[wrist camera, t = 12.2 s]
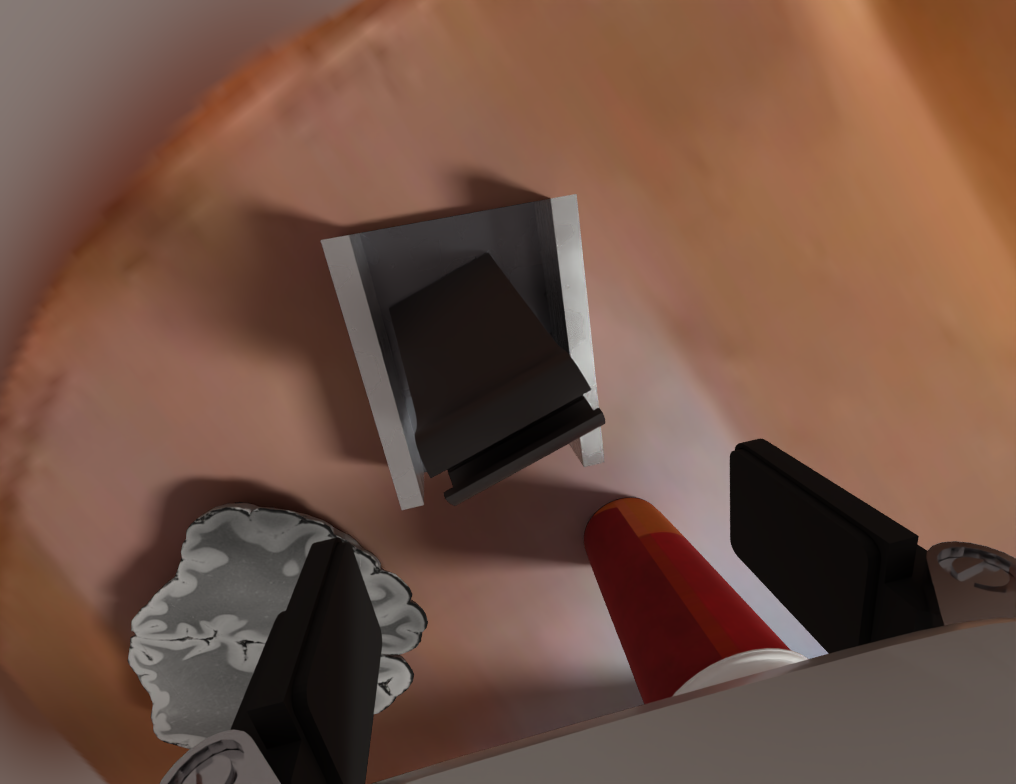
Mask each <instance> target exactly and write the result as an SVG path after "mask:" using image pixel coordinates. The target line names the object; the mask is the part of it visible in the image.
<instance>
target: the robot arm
mask: <svg viewBox="0 0 1016 784" xmlns="http://www.w3.org/2000/svg"><path fill="white" fill-rule="evenodd" d="M730 540H731V545H732V548H733V550H734V552H735V554H736V555H737V556H738V557H739V558H740V559H741V560H742V561H743V563H744V564H745V565H746V566H747V567H748V568H749V569H750V570H751V571H752V572H753V573H754V574H755V575H756V576H757V577H758V579H759V580H760V581H761V582H762V583H763V584H764V585H765V586H766V587H767V588H768V589H769V590H770V591H771V592H772V593H773V595H774V596H775V597H776V598H777V599H778V600H779V601H780V602H781V603H782V604H783V605H784V606H785V607H786V608H787V609H788V611H789V612H790V613H791V614H792V615H793V616H794V617H795V618H796V619H797V620H798V621H799V622H800V623H801V624H802V625H803V627H804V628H805V629H806V630H807V631H808V632H809V633H810V634H811V635H812V636H813V637H814V638H815V639H816V640H817V641H818V643H819V644H820V645H821V646H822V647H823V648H824V649H825V650H826V651H827V652H828V653H829V654H826V655H823V656H819V657H815V658H811V659H808V660H804V661H800V662H797V663H793V664H789V665H786V666H782V667H778V668H775V669H771V670H767V671H764V672H760V673H756V674H753V675H749V676H745V677H742V678H738V679H734V680H731V681H727V682H723V683H720V684H716V685H713V686H709V687H705V688H702V689H698V690H695V691H691V692H687V693H684V694H680V695H677V696H673V697H669V698H666V699H662V700H658V701H655V702H651V703H648V704H644V705H641V706H637V707H633V708H630V709H626V710H623V711H619V712H616V713H612V714H608V715H605V716H601V717H598V718H594V719H591V720H587V721H583V722H580V723H576V724H573V725H569V726H566V727H562V728H559V729H555V730H552V731H548V732H545V733H541V734H538V735H534V736H531V737H527V738H524V739H520V740H517V741H513V742H510V743H506V744H503V745H499V746H496V747H492V748H489V749H485V750H482V751H478V752H475V753H471V754H468V755H464V756H461V757H457V758H454V759H451V760H447V761H444V762H441V763H438V764H434V765H431V766H428V767H425V768H421V769H418V770H415V771H411V772H408V773H405V774H402V775H398V776H395V777H392V778H388V779H385V780H382V781H379V782H375V783H372V784H1016V558H1014V557H1012V556H1010V555H1008V554H1006V553H1004V552H1001V551H998V550H995V549H993V548H990V547H987V546H982V545H978V544H973V543H967V542H956V541H954V542H942V543H939V544H936V545H933V546H932V547H931V548H930V549H929V550H928V551H927V550H925V549H923V548H922V547H920V546H919V545H917V543H918V535H916V534H914V533H913V532H911V531H910V530H908V529H907V528H905V527H903V526H902V525H900V524H899V523H897V522H895V521H894V520H892V519H891V518H889V517H887V516H886V515H884V514H883V513H881V512H879V511H878V510H876V509H875V508H873V507H871V506H870V505H868V504H867V503H865V502H863V501H862V500H860V499H859V498H857V497H855V496H854V495H852V494H851V493H849V492H847V491H846V490H844V489H843V488H841V487H840V486H838V485H836V484H835V483H833V482H832V481H830V480H828V479H827V478H825V477H824V476H822V475H820V474H819V473H817V472H816V471H814V470H812V469H811V468H809V467H808V466H806V465H804V464H803V463H801V462H800V461H798V460H796V459H795V458H793V457H792V456H790V455H788V454H787V453H785V452H784V451H782V450H780V449H779V448H777V447H776V446H774V445H772V444H771V443H769V442H768V441H766V440H764V439H756V440H752V441H747V442H743V443H739V444H737V445H736V447H735V451H732V452H731V454H730ZM381 652H382V633H381V629H380V625H379V623H378V620H377V617H376V614H375V611H374V608H373V605H372V602H371V600H370V597H369V594H368V591H367V588H366V585H365V582H364V580H363V577H362V574H361V571H360V568H359V565H358V562H357V560H356V557H355V554H354V551H353V548H352V546H351V544H350V542H348V541H347V542H342V540H341V539H340V538H339V537H337V538H332V539H328V540H324V541H319V542H315V543H313V544H312V545H311V547H310V550H309V553H308V555H307V558H306V560H305V563H304V565H303V568H302V570H301V573H300V576H299V578H298V581H297V583H296V586H295V588H294V591H293V593H292V596H291V599H290V601H289V604H288V606H287V609H286V611H282V612H281V613H280V614H278V616H277V618H276V619H275V621H274V624H273V626H272V629H271V631H270V634H269V636H268V638H267V641H266V643H265V646H264V648H263V651H262V653H261V656H260V658H259V660H258V663H257V665H256V668H255V670H254V673H253V675H252V678H251V680H250V682H249V685H248V687H247V690H246V692H245V695H244V697H243V700H242V702H241V704H240V707H239V709H238V712H237V714H236V717H235V719H234V722H233V724H232V726H231V729H230V730H229V731H223V732H219V733H217V734H215V735H213V736H210V737H208V738H206V739H204V740H203V741H201V742H200V743H198V744H197V745H195V746H194V747H193V748H191V749H190V750H189V751H187V752H186V753H185V754H184V755H183V756H182V757H181V758H180V759H179V760H178V761H177V762H176V763H175V764H174V765H173V766H172V767H171V769H170V770H169V771H168V772H167V774H166V775H165V776H164V777H163V779H162V780H161V782H160V784H365V780H366V772H367V764H368V756H369V748H370V740H371V732H372V724H373V716H374V708H375V700H376V692H377V684H378V676H379V668H380V660H381Z"/></svg>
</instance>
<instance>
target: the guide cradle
mask: <svg viewBox="0 0 1016 784" xmlns="http://www.w3.org/2000/svg"><path fill="white" fill-rule="evenodd" d="M321 243H322V247H323V250H324V253H325V257H326V260H327V263H328V267H329V270H330V273H331V277H332V280H333V283H334V287H335V290H336V293H337V297H338V300H339V303H340V307H341V310H342V313H343V317H344V320H345V323H346V327H347V330H348V333H349V337H350V340H351V343H352V347H353V350H354V353H355V356H356V360H357V363H358V366H359V370H360V373H361V376H362V380H363V383H364V386H365V390H366V393H367V396H368V400H369V403H370V406H371V410H372V413H373V416H374V420H375V423H376V426H377V430H378V433H379V436H380V440H381V443H382V446H383V450H384V453H385V456H386V460H387V463H388V466H389V470H390V473H391V476H392V479H393V483H394V486H395V489H396V493H397V496H398V499H399V503H400V506H401V509H402V510H405V509H409V508H413V507H417V506H422V505H424V472H427V471H426V469H425V467H424V465H423V462H422V460H421V458H420V455H419V452H418V449H417V446H416V442H415V432H416V429H417V419H416V413H415V409H414V405H413V402H412V398H411V394H410V390H409V386H408V382H407V378H406V374H405V370H404V366H403V362H402V358H401V355H400V351H399V347H398V343H397V339H396V335H395V331H394V327H393V323H392V319H391V315H390V312H389V308H390V307H392V306H393V305H395V304H397V303H399V302H401V301H402V300H404V299H406V298H408V297H409V296H411V295H413V294H415V293H417V292H418V291H420V290H422V289H424V288H425V287H427V286H429V285H431V284H433V283H434V282H436V281H438V280H440V279H441V278H443V277H445V276H447V275H449V274H450V273H452V272H454V271H456V270H458V269H459V268H461V267H463V266H465V265H466V264H468V263H470V262H472V261H474V260H475V259H477V258H479V257H481V256H482V255H484V254H486V253H489V254H490V255H491V257H492V258H493V260H494V261H495V262H496V264H497V265H498V266H499V268H500V269H501V270H502V272H503V273H504V274H505V276H506V277H507V278H508V280H509V281H510V282H511V284H512V285H513V286H514V288H515V289H516V290H517V292H518V293H519V294H520V296H521V297H522V298H523V300H524V301H525V302H526V304H527V305H528V306H529V308H530V309H531V310H532V312H533V313H534V314H535V316H536V317H537V319H538V320H539V321H540V323H541V324H542V325H543V327H544V328H545V329H546V331H547V332H548V333H549V335H550V336H551V337H552V339H553V340H554V341H555V342H556V343H557V344H558V346H560V347H561V348H562V349H564V350H565V351H566V352H567V353H568V354H569V355H570V356H571V358H572V359H573V360H574V362H575V363H576V365H577V366H578V368H579V369H580V371H581V372H582V374H583V376H584V377H585V379H586V381H587V382H588V384H589V386H590V388H591V390H590V391H589V392H587V393H585V394H583V396H584V397H585V398H586V400H587V401H588V403H589V404H590V406H591V407H592V409H593V410H595V409H597V408H598V407H599V406H598V396H597V387H596V377H595V368H594V358H593V348H592V339H591V329H590V320H589V310H588V300H587V291H586V281H585V272H584V262H583V252H582V243H581V233H580V224H579V214H578V204H577V195H576V194H574V195H569V196H563V197H557V198H552V199H546V200H541V201H535V202H530V203H524V204H519V205H513V206H507V207H502V208H496V209H491V210H485V211H480V212H474V213H469V214H463V215H457V216H452V217H446V218H441V219H435V220H430V221H424V222H419V223H413V224H407V225H402V226H396V227H391V228H385V229H380V230H374V231H369V232H363V233H357V234H352V235H346V236H341V237H335V238H330V239H324V240H321ZM569 445H570V446H571V448H572V449H573V451H574V453H575V454H576V456H577V457H578V459H579V460H580V462H581V463H582V465H583V467H586V466H590V465H595V464H599V463H603V462H604V454H603V444H602V435H601V426H600V427H598V428H596V429H594V430H593V431H591V432H589V433H587V434H585V435H584V436H582V437H580V438H578V439H576V440H574V441H573V442H571V443H569Z"/></svg>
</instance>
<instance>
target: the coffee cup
mask: <svg viewBox="0 0 1016 784" xmlns="http://www.w3.org/2000/svg"><path fill="white" fill-rule="evenodd" d="M584 545H585V549H586V552H587V555H588V558H589V561H590V564H591V567H592V570H593V572H594V575H595V577H596V580H597V583H598V585H599V588H600V591H601V593H602V596H603V598H604V601H605V603H606V606H607V609H608V611H609V614H610V616H611V619H612V622H613V624H614V627H615V629H616V632H617V634H618V637H619V639H620V642H621V645H622V647H623V650H624V652H625V655H626V657H627V660H628V662H629V665H630V668H631V670H632V673H633V676H634V679H635V681H636V684H637V687H638V689H639V692H640V694H641V697H642V699H643V702H644V704H648V703H651V702H655V701H658V700H662V699H666V698H669V697H673V696H677V695H680V694H684V693H687V692H691V691H695V690H698V689H702V688H705V687H709V686H713V685H716V684H720V683H723V682H727V681H731V680H734V679H738V678H742V677H745V676H749V675H753V674H756V673H760V672H764V671H767V670H771V669H775V668H778V667H782V666H786V665H789V664H793V663H797V662H800V661H804V660H808V658H806V657H805V656H803V655H801V654H799V653H796V652H794V651H791V650H790V649H789V648H788V647H787V646H786V645H785V644H784V643H783V641H782V640H781V639H780V638H779V637H778V636H777V635H776V634H775V633H774V632H773V631H772V630H771V629H770V628H769V627H768V626H767V624H766V623H765V622H764V621H763V620H762V619H761V618H760V617H759V616H758V615H757V614H756V613H755V612H754V611H753V610H752V608H751V607H750V606H749V605H748V604H747V603H746V602H745V601H744V600H743V599H742V598H741V597H740V596H739V595H738V594H737V592H736V591H735V590H734V589H733V588H732V587H731V586H730V585H729V584H728V583H727V582H726V581H725V580H724V579H723V578H722V576H721V575H720V574H719V573H718V572H717V571H716V570H715V569H714V568H713V567H712V566H711V565H710V564H709V563H708V562H707V560H706V559H705V558H704V557H703V556H702V555H701V554H700V553H699V552H698V551H697V550H696V549H695V548H694V547H693V546H692V545H691V544H690V542H689V541H688V540H687V539H686V538H685V537H684V536H683V535H682V534H681V533H680V532H679V531H678V530H677V529H676V528H675V527H674V526H673V525H672V524H671V523H670V522H669V521H668V520H667V519H666V518H665V516H664V515H663V514H662V513H661V512H659V511H658V510H657V509H656V508H655V507H654V506H653V505H652V504H650V503H649V502H647V501H645V500H642V499H638V498H622V499H618V500H615V501H612V502H610V503H608V504H606V505H605V506H603V507H602V508H600V509H599V510H598V511H597V512H596V513H595V514H594V515H593V516H592V518H591V519H590V521H589V522H588V524H587V526H586V529H585V533H584Z"/></svg>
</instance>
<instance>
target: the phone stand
mask: <svg viewBox="0 0 1016 784" xmlns="http://www.w3.org/2000/svg"><path fill="white" fill-rule="evenodd" d="M389 312H390V315H391V319H392V323H393V327H394V331H395V335H396V339H397V343H398V347H399V351H400V355H401V358H402V362H403V366H404V370H405V374H406V378H407V382H408V386H409V390H410V394H411V398H412V402H413V405H414V409H415V413H416V419H417V429H416V432H415V442H416V446H417V449H418V452H419V455H420V458H421V460H422V462H423V465H424V467H425V469H426V471H427V473H428V474H429V476H430V478H432V477H434V476H436V475H438V474H440V473H442V472H443V471H445V470H448V474H449V476H450V479H451V482H452V485H453V488H451V489H449V490H447V491H445V492H444V497H445V499H446V500H447V501H448V502H449V503H450V504H452V505H454V506H456V505H458V504H459V503H461V502H463V501H465V500H467V499H469V498H470V497H472V496H474V495H476V494H478V493H480V492H481V491H483V490H485V489H487V488H489V487H490V486H492V485H494V484H496V483H498V482H500V481H501V480H503V479H505V478H507V477H509V476H511V475H512V474H514V473H516V472H518V471H520V470H521V469H523V468H525V467H527V466H529V465H531V464H532V463H534V462H536V461H538V460H540V459H542V458H543V457H545V456H547V455H549V454H551V453H552V452H554V451H556V450H558V449H560V448H562V447H563V446H565V445H567V444H569V443H571V442H573V441H574V440H576V439H578V438H580V437H582V436H584V435H585V434H587V433H589V432H591V431H593V430H594V429H596V428H598V427H600V426H602V425H604V424H605V418H604V415H603V412H602V411H601V410H600V408H599V407H598V408H597V409H595V410H593V409H592V407H591V406H590V404H589V403H588V401H587V400H586V398H585V397H584V396H583V394H585V393H587V392H589V391H590V390H591V388H590V386H589V384H588V382H587V381H586V379H585V377H584V376H583V374H582V372H581V371H580V369H579V368H578V366H577V365H576V363H575V362H574V360H573V359H572V358H571V356H570V355H569V354H568V353H567V352H566V351H565V350H564V349H562V348H561V347H560V346H558V344H557V343H556V342H555V341H554V340H553V339H552V337H551V336H550V335H549V333H548V332H547V331H546V329H545V328H544V327H543V325H542V324H541V323H540V321H539V320H538V319H537V317H536V316H535V314H534V313H533V312H532V310H531V309H530V308H529V306H528V305H527V304H526V302H525V301H524V300H523V298H522V297H521V296H520V294H519V293H518V292H517V290H516V289H515V288H514V286H513V285H512V284H511V282H510V281H509V280H508V278H507V277H506V276H505V274H504V273H503V272H502V270H501V269H500V268H499V266H498V265H497V264H496V262H495V261H494V260H493V258H492V257H491V255H490V254H489V253H486V254H484V255H482V256H481V257H479V258H477V259H475V260H474V261H472V262H470V263H468V264H466V265H465V266H463V267H461V268H459V269H458V270H456V271H454V272H452V273H450V274H449V275H447V276H445V277H443V278H441V279H440V280H438V281H436V282H434V283H433V284H431V285H429V286H427V287H425V288H424V289H422V290H420V291H418V292H417V293H415V294H413V295H411V296H409V297H408V298H406V299H404V300H402V301H401V302H399V303H397V304H395V305H393V306H392V307H390V308H389Z"/></svg>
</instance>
